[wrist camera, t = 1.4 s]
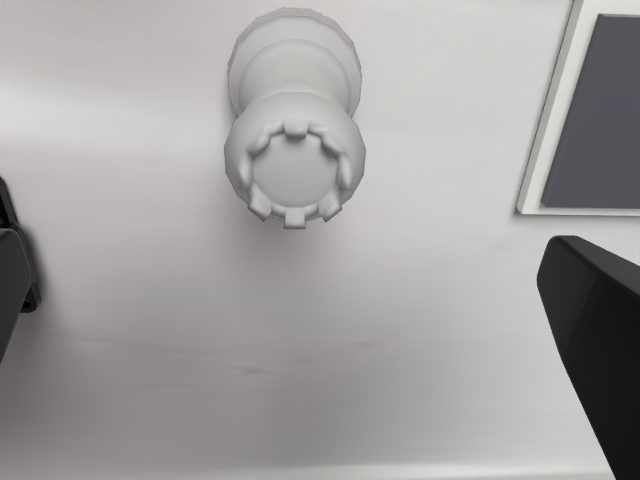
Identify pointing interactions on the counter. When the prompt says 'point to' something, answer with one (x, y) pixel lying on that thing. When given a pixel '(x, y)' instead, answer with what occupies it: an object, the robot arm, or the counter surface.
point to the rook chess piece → (294, 117)
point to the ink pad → (590, 118)
